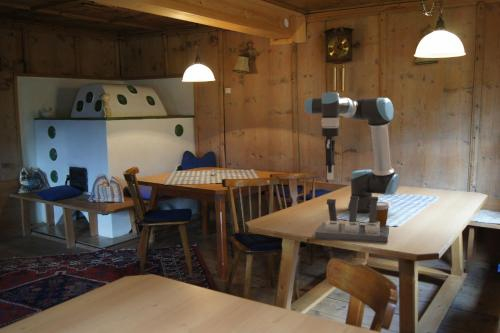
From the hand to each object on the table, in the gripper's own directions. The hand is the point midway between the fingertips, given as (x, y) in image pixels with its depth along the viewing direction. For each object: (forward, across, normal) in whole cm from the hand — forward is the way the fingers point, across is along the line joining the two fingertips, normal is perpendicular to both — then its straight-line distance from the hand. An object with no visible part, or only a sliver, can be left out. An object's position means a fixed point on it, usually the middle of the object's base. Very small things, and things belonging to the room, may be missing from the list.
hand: (330, 179), depth 215 cm
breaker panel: (+27, -8, +9) cm, 30 cm away
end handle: (+20, -8, +18) cm, 28 cm away
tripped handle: (+20, -8, 0) cm, 22 cm away
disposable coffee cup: (+27, -25, +20) cm, 42 cm away
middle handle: (+20, -8, +9) cm, 24 cm away
